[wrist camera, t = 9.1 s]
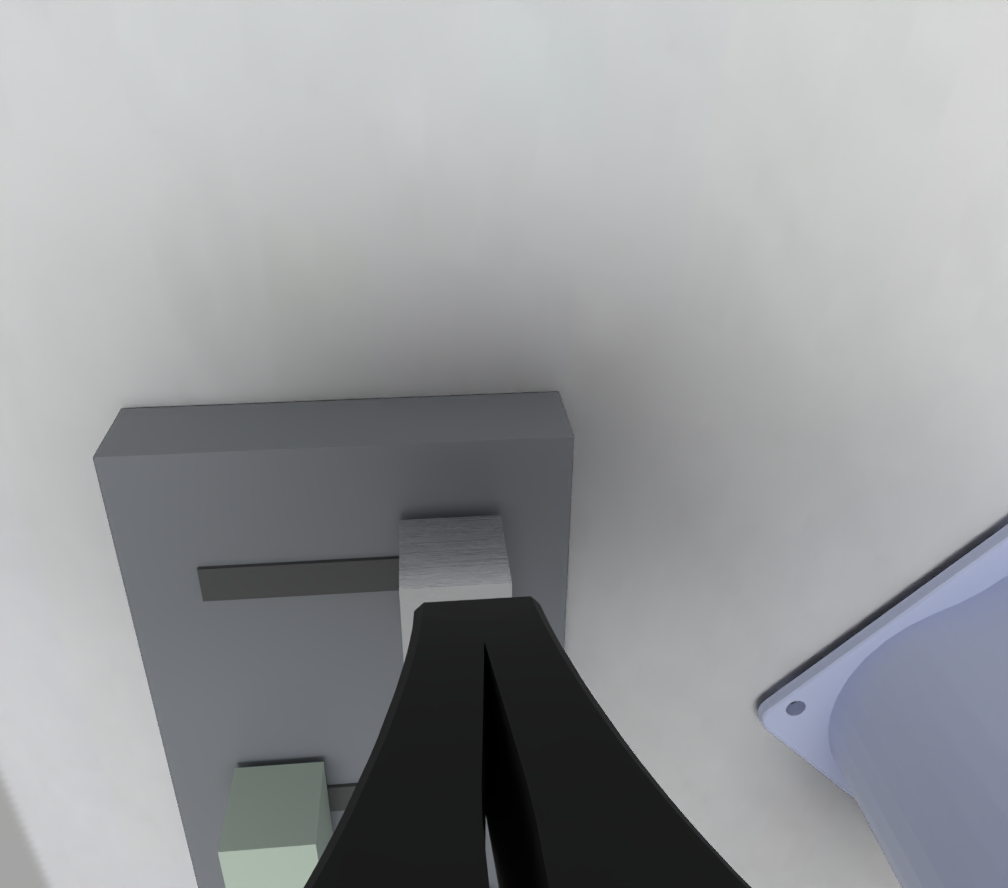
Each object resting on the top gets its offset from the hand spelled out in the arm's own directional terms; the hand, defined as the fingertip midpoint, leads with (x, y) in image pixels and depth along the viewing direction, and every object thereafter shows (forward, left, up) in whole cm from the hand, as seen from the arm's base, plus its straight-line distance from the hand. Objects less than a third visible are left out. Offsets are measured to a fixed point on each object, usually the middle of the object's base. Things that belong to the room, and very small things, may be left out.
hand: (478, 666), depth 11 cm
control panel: (+9, +6, -9) cm, 14 cm away
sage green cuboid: (+10, +5, -7) cm, 14 cm away
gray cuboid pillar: (+3, +3, -7) cm, 8 cm away
